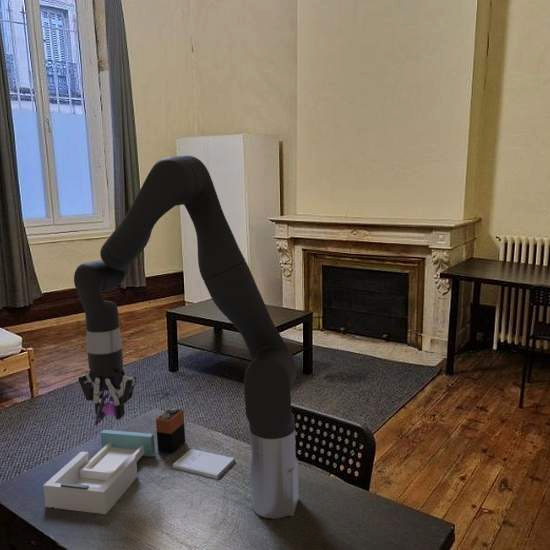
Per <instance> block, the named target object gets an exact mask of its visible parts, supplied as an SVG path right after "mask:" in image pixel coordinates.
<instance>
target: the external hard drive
mask: <svg viewBox="0 0 550 550" xmlns="http://www.w3.org/2000/svg"><path fill="white" fill-rule="evenodd" d="M235 462H236V459H235V458H234V457H230V456H225V455H222V454H221V455H220V454H216V453H212V452H207V451H203V450H199V449H193V448H190V449H189V450H188V451H187V452H186V453H184V454H183V455H182V456H181V457H180V458H178V459H177V460H176V461H175V462H174V463H173V464H172V468H173V469H176V470H180V471H184V472H188V473H192V474H196V475H199V476H203V477H208V478H212V479H214V480H215V479H216V480H218V479H220V478H221V477H222V475H223V474H225V472H227V470H228V469H229V468H230V467H231V466H232V465H233V464H234V463H235Z"/></svg>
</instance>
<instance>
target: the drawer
mask: <svg viewBox="0 0 550 550" xmlns="http://www.w3.org/2000/svg"><path fill="white" fill-rule="evenodd" d="M154 436H155V434H154V433H147V432H135V431H124V430H123V431H122V430H111V429H103V430H101V432H100V444H101V449H100V450H99V451H98V452H97V453H96V454H95V455H94V456H93V457H91V458H90V459H89V461H88V462H87V463H86V464H85V465H84V466H83V467H82V468H81V469H80V478H87V479H96V480H105V481H106V480H107V479H108V478H109V477H110V476H111V474H112V473H113V472H114V471H115V470H116V469H117V468H118V467H119V466H120V465H121V464H122V463H123V462H124V461H125V460H126V458H127V457H128V456H135V457H136V463H138V461H139V460H140V459H141V458H142V456H143V457H153V456H154V455H155V454H156V448H155V437H154Z"/></svg>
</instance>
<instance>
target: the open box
mask: <svg viewBox="0 0 550 550" xmlns="http://www.w3.org/2000/svg"><path fill="white" fill-rule="evenodd" d="M89 457H90V456H89V452H88V451H79V452H78V454H77V455H76V456H74V458H72V459H71V460H70V461H69V462H68V463H66V464H65V465H64V466H63V467H62V468H61V469H59V471H57V472H56V473H55V474H54V475H53V476H52V477H51V478H50V479H48V480H47V481H46V482H45V483H44V484H43V496H44V504H45V505H44V506H45V508H51V507H54V508H53V509H59V508H60V510H67V511H68V510H70V511H79V512H84V513H93V514H101V515H107V514H108V513H109V511H110V510H111V509H112V507H114V505H115V504H116V503H117V502H118V501H119V500H120V498H121V497H122V496H123V495H124V493H125V492H126V491H127V490H128V489H129V488H130V486H131V485H132V484H133V483H134V481H135V480H136V479H137V478H138V462H136V457H135V456H128V457H127V458H126V460H125V461H124V462H123V463H122V464H121V465H120V466H119V467H118V468H117V469H116V470H115V471H114V472H113V473H112V474H111V476H110V477H109V478H108V479H107V480H106V481H105V480H96V479H87V478H80V469H81V468H82V467H83V466H84V465H85V464H86V463H87V462H88V461H90V459H89Z"/></svg>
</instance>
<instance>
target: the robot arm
mask: <svg viewBox="0 0 550 550" xmlns="http://www.w3.org/2000/svg"><path fill="white" fill-rule="evenodd" d="M182 205H183V206H184V208H185V209H186V211H187V214H188V216H189V217H190V220H191V222H192V223H193V226H194V230H195V234H196V244H197V261H198V263H197V264H198V265H197V266H198V270H199V273H200V276H201V278H202V279H201V280H203V282H204V285H205V287H206V289H207V291H208V294H209V296H210V298H211V299H212V301H213V303H214V304H215V305H216V306H215V307H217V308H218V310H219V311H220V312H221V313H222V314H223V316H225V317H226V319H227V320H229V321H230V323H232V324H233V326H234V327H235V328H236V329H237V331H238V332H239V334H240V336H241V337H242V339H243V341H244V343H245V345H246V348H247V350H248V352H249V355H250V358H251V362H250V363H249V364H248V366H247V367H246V369H245V371H244V372H245V373H244V378H243V388H244V389H243V390H244V406H245V415H246V419H247V421H248V423H249V424H248V425H249V444H250V446H249V447H250V448H249V449H250V454H249V455H250V478H251V480H250V481H251V482H250V483H251V501H252V502H251V504H252V509H253V512H255V513H256V514H257V515H258V516H260V517H263V518H266V519H275V520H276V519H281V518H285V517H294V516H295V512H296V510H297V509H296V508H297V505H298V502H299V461H298V457H296V417H295V414H294V412H292V397H291V396H292V395H291V394H292V393H291V391H292V390H291V388H292V386H293V384H294V382H295V380H296V377H297V374H298V373H297V372H298V371H297V363H296V360H295V357H294V356H293V354H292V352H291V350H290V349H289V347H288V345H287V344H286V343H285V340H284V339H283V337H282V336H281V333H279V332H280V331H278V329H277V327H276V325H275V323H274V322H273V319H272V318H271V315H270V313H269V311H268V308H267V306H266V303H265V301H264V299H263V296H262V295H261V294H262V293H261V292H260V290H259V288H258V286H257V283H256V281H255V278H254V276H253V273H252V271H251V269H250V267H249V264H248V263H247V261H246V258H245V257H244V255H243V253H242V251H241V249H240V247H239V244H238V243H237V240H236V238H235V236H234V234H233V231H232V229H231V227H230V225H229V222H228V221H227V218H226V216H225V214H224V211H223V208H222V205H221V202H220V199H219V196H218V194H217V191H216V188H215V185H214V182H213V179H212V176H211V174H210V172H209V170H208V168H207V167H206V165H205V163H203V162H202V160H201V159H199V158H197V157H196V156H193V155H179V156H177V155H176V156H168V157H164V158H162V159H159V160H158V161H157V162H155V164H154V165H153V166H152V168H151V169H150V170H149V172H148V174H147V176H146V178H145V180H144V182H143V183H142V185H141V188H140V189H139V191H138V193H137V195H136V197H135V199H134V200H133V202H132V204H131V206H130V208H129V209H128V211H127V213H126V214H125V216H124V217H123V219H122V220H121V222H120V223H119V224H118V226H117V227H116V228H115V230H114V231H112V234H111V235H109V237H108V238H107V239H106V240H105V242H104V243H103V244H102V246H101V248H100V251H99V252H100V259H98V260H93V261H87V262H84V263H81V264H79V265H78V266H77V267H76V269H75V271H74V276H73V283H74V287H75V291H76V293H77V295H78V298H79V301H80V303H81V306H82V308H83V310H84V314H85V327H86V328H85V329H86V349H87V350H86V351H87V352H86V353H87V361H88V363H87V364H88V368H89V372H88V373H86V372H85V373H83V374H82V375H81V376H79V377H78V382H79V385H80V387H81V390H82V393H83V395H84V397H85V400H86V401H88V402H89V401H92V402H93V403H94V410H95V411H94V412H95V415H96V416H97V412H98V407H99V406H100V403H99V399H100V398H103V397H104V396H105V392H107V391H108V392H110V396H112V397H113V399H114V402H115V404H116V405H115V420H116V421H120V420H121V419H122V418H123V417H124V416H125V413H126V411H125V404H126V403H128V402H129V401H130V400H132V397H133V394H134V390H135V387H136V382H137V377H136V376H134V375H133V376H128V375H126V372H125V371H124V367H123V366H124V361H123V360H124V358H123V357H124V356H123V345H122V343H123V342H122V335H121V331H120V321H119V309H118V305H117V304H116V303H115V302H114V301H110V300H104V299H103V296H102V293H103V292H106V291H110V290H114V289H116V288H118V287H119V286H120V285H122V283H123V282H124V280H125V278H126V276H127V273H128V272H129V269H130V267H131V264H133V262H134V261H135V260H136V259H137V258H138V256H140V254H141V253H142V252H143V250H144V249H145V248H146V247H147V245H148V243H149V241H150V238H151V236H152V232H153V229H154V227H155V225H156V224H157V223H158V221H159V220H161V218H162V217H163V216H164V215H165V214H166V213H168V212H169V211H170V210H172V209H173V208H175V207H176V206H182ZM122 383H123V385H122ZM93 384H94V385H93ZM123 386H124V389H123ZM115 389H116V390H115ZM105 404H106V403H105V401H103V403H102V407H104V405H105ZM102 407H101V411H100V415H99V419H101V418H103V417H104V416H105V412H102V409H103V408H102ZM105 417H106V416H105ZM105 417H104V418H105ZM104 418H103V419H104Z"/></svg>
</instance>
